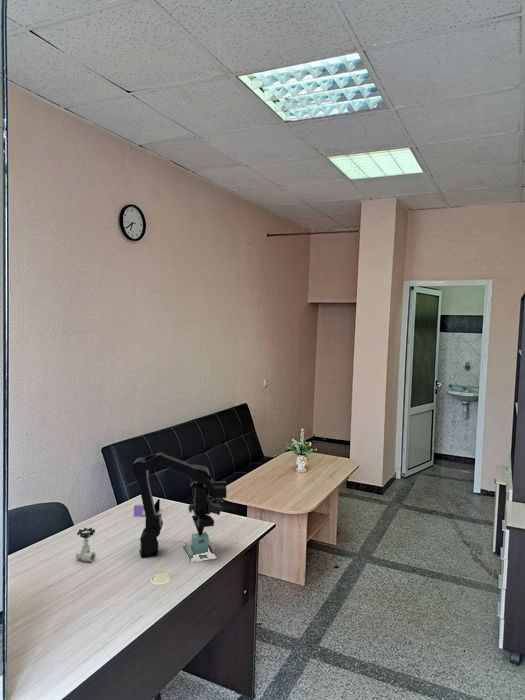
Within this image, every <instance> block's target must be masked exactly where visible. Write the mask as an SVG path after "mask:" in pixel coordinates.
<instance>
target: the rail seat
mask: <svg viewBox="0 0 525 700" xmlns="http://www.w3.org/2000/svg"><path fill="white" fill-rule="evenodd" d="M184 544H185V545H183V546H182V548H183V550H184V553H185V555H186V554H187V555H188V557H189V559H190V561H191V558H193V555H194V554H193V551H192V544H190V543H189V542H186V541H185V542H184ZM208 548H209V550H210V552H211V553H212V554H214V553H215V554H216V547H215V546H214V544H213V543H212V541H211V540H210V539H209V540H208ZM187 555H186V556H187ZM188 557H187V558H188ZM199 557H200V559H203V558H208V557H207V555H199ZM189 559H188V560H189ZM190 561H189V562H190Z"/></svg>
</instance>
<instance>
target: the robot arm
mask: <svg viewBox="0 0 525 700" xmlns="http://www.w3.org/2000/svg"><path fill="white" fill-rule="evenodd" d="M159 465H161V466H163V467H166V468H168V469H171V470H173V471H176V472H179V473H181V474H184V475H186V476H187V477H188V478H190V479H191V480H193V482H192V483H190V486H189V488H190V489H194V497H193V499H192V502H193V503H191V504H189V505H188V512H189V513H191V514H192V513H193V515H192V516H191V518H192V521H193V524H194V526H195V528H196V530H197V533H198V534H199V535H202V533H203V532H204V529H205V528H207V527H214V526H215V520H214V518H213V517H212V516H211V514H215V515H217V516H220V514H221V512H222V509H223V507H222V506H221V504H219V503H218V502H217V500H216V499H227V492H228V491H227V481H226V480H222V481H214V478H213V477H212V476H211V474H210V470H209V468H208V467H207V466H206V465H202V464H201V465H200V464H193V463H192V464H191V463H188V462H186V461H183V460H181V459H178V458H176V457H174V456H170V455H168V454H166V453H164V452H156V453H154V454H151V455H148V456H145V457H143V456H142V457H138V458H136V459H135V460H134V462H133V464H132V465H131V472H132V475H133V477H134V479H135V480H136V482H137V483H138V487H139V492H140V497H141V501H142V502H141V503H142V505H143V506H144V513H145V515H146V517H145V527H144V528H143V530H142V532H141V536H140V538H139V540H140V543H139V544H140V545H139V546H140V547H139V550H138V552H139V555H140V558H141V559H143V558H144V559H145V558H151V557H157V556H158V553H159V540H158V537H159V536H160V534H161V531H162V529H163V524H164V521H163V519H162V513H160V514H158V513H156V511H155V506H154V505H155V503H154V497H153V494H152V489H151V485H150V481H149V476H150V475H149V474H150V473H149V471H150V470H152V469H153V468H155V467H156V466H159ZM209 490H210V491H209ZM209 496H211V498H212V499H211V500H209Z"/></svg>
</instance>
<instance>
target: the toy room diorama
mask: <svg viewBox="0 0 525 700" xmlns="http://www.w3.org/2000/svg"><path fill="white" fill-rule="evenodd" d="M160 501H161V500H160V499H159V498H158V499H157V500H156V502H155V503H154V506H155V511H156V513H157V514H158V512H159V511H160V506H161V505H160V503H161V502H160ZM133 517H137V518H139V517H140V518H146V515H145V511H144V506H143V504H134V505H133Z"/></svg>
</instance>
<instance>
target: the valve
mask: <svg viewBox="0 0 525 700" xmlns="http://www.w3.org/2000/svg"><path fill="white" fill-rule="evenodd" d="M95 533H96V529H94V528H92V527H89V528H87V527H84V528H83V529H79V530H78V531H77V536H79V537H80V538H83V539H84V540H83V545H82V547H81V549H78V550H77V551H76V554H75V559H77V560H80V561H81V562H85V561H86V562H92V563H93V562H94V561H95V559H96V556H97V555H96V552H93V551H90V550H91V546H90V545H89V538H91V537H92V536H94V534H95Z"/></svg>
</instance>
